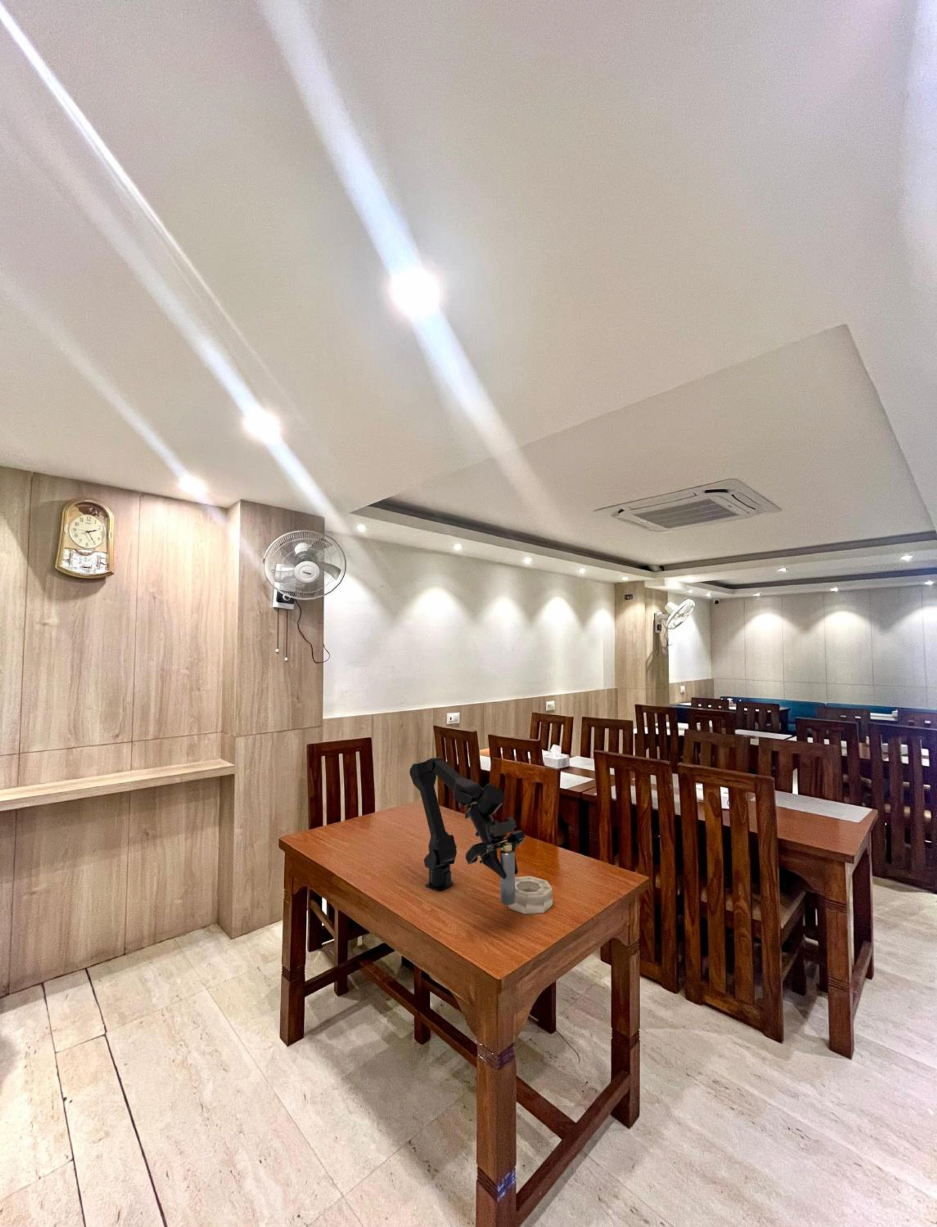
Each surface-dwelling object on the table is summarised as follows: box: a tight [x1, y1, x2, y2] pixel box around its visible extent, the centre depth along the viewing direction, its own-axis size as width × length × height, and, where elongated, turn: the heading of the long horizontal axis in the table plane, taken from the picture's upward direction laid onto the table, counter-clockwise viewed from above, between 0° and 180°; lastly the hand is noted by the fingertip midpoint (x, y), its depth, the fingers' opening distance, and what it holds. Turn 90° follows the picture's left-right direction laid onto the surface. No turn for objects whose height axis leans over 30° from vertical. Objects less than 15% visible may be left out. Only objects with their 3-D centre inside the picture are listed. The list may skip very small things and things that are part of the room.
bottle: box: [499, 843, 516, 906], centre depth 137 cm, size 4×4×15 cm
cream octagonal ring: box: [507, 875, 553, 915], centre depth 149 cm, size 13×13×4 cm
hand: (511, 876), depth 136 cm, fingers closed on bottle, 4 cm apart
